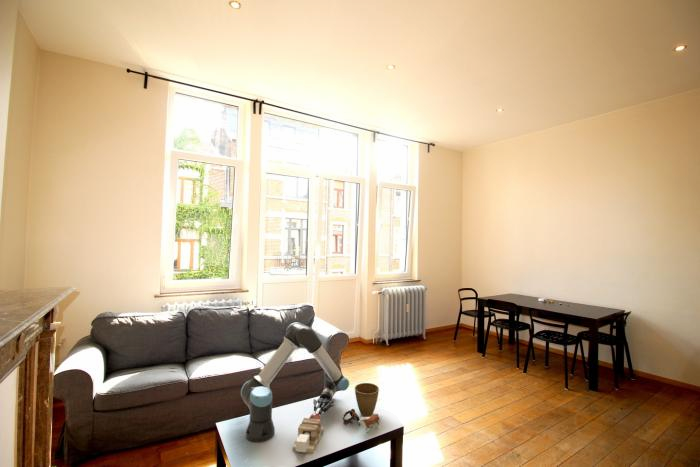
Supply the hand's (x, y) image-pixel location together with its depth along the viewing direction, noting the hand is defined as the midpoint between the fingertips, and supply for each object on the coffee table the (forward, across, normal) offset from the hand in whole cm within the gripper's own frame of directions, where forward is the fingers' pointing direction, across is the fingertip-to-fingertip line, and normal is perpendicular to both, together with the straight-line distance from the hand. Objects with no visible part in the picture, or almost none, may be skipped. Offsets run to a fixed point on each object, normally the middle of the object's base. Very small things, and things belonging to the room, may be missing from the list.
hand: (316, 415), depth 190 cm
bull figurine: (-4, -30, -7) cm, 31 cm away
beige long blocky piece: (+13, 0, -6) cm, 14 cm away
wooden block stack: (+10, 0, -6) cm, 12 cm away
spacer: (+23, 0, -4) cm, 24 cm away
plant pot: (-20, -26, -7) cm, 34 cm away
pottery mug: (-9, -19, -7) cm, 22 cm away
